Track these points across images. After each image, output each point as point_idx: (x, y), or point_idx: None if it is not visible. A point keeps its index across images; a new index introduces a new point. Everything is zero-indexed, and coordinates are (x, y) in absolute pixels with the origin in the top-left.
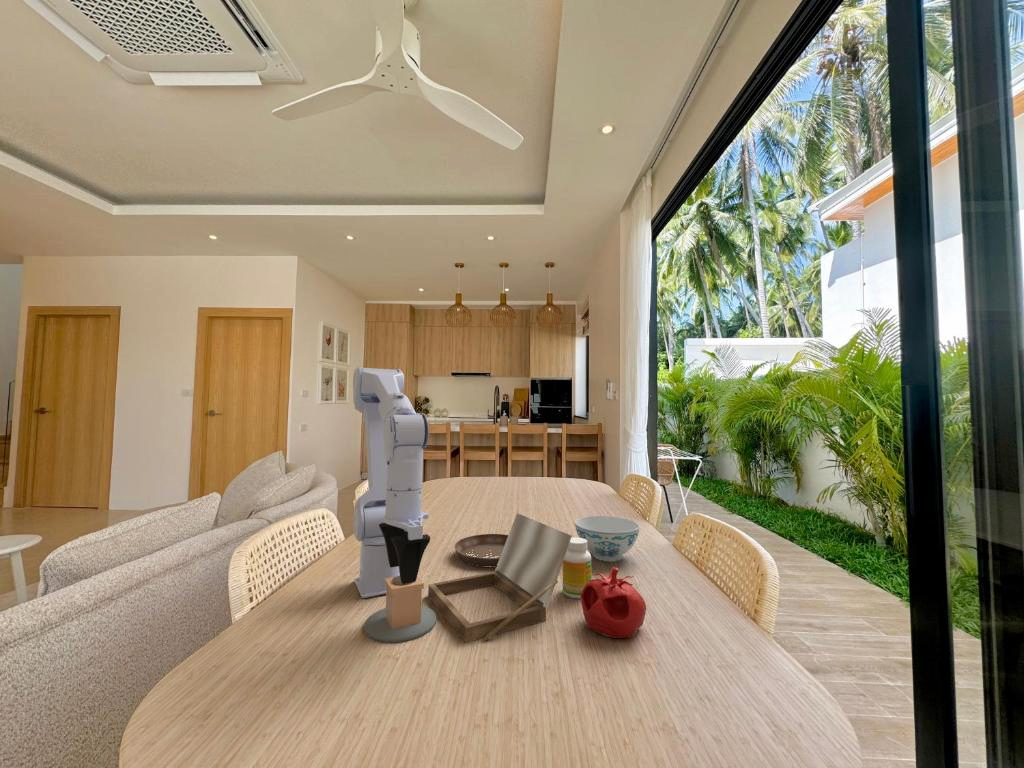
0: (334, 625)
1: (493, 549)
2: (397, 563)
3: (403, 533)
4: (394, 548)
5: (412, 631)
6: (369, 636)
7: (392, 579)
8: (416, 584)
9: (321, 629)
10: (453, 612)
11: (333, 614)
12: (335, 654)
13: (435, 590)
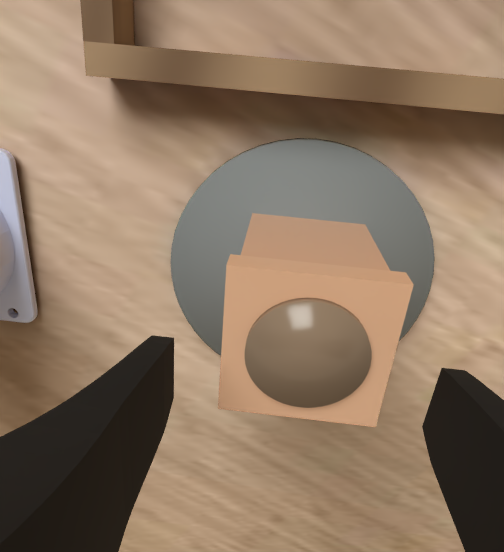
0: (191, 420)
1: None
2: (170, 378)
3: (75, 527)
4: (132, 470)
5: (407, 274)
6: None
7: (278, 401)
8: (399, 321)
9: (197, 447)
10: (469, 107)
11: None
12: (352, 451)
13: (178, 73)
